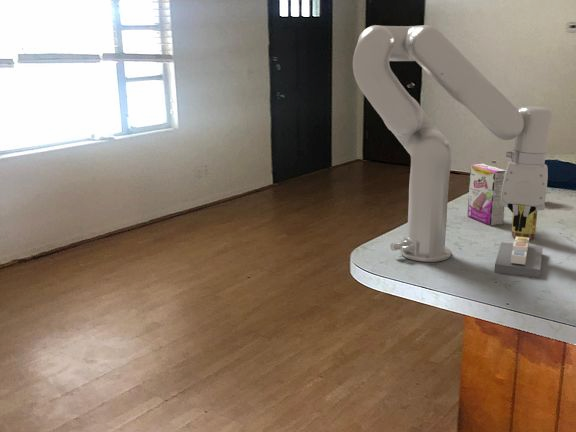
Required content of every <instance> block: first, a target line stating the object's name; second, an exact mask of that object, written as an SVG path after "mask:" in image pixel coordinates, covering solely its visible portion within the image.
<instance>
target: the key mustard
mask: <svg viewBox="0 0 576 432" xmlns="http://www.w3.org/2000/svg"><path fill="white" fill-rule="evenodd" d="M515 241H521V242H528V245H530V244H529V243H530V239H529V238H527V237H517V236H516V238H514V242H515Z"/></svg>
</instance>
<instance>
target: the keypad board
mask: <svg viewBox="0 0 576 432" xmlns="http://www.w3.org/2000/svg"><path fill="white" fill-rule="evenodd" d="M513 244H514V242H513V243H510V242H502V241H501V242H500V247H499V249H498V253H497V256H496V259H495V262H494V269H493V270H494V273H497V274H499V273H500V274H505V275H506V274H507V275H514V276H522V277H530V278H540V277H541V269H542V259H543V248H544V247H543V246H542V245H541V246H537V245H532V244H531V245H530V244H529V245H528V251H527V255H526V262H525V265H524V264H523V266H522V265H514V264H513V263H511V254H512V251H513Z"/></svg>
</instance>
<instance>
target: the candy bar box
mask: <svg viewBox="0 0 576 432" xmlns="http://www.w3.org/2000/svg"><path fill="white" fill-rule="evenodd" d="M505 171H506V169H503V168H499V167H496V166H492V165H488V164H486V163H477V164H471V165H470V171H469V189H468V200H467V201H468V204H467V206H468V207H467V215H466V216H467V218H468V217H469V218H471V219H474V220H476V221H479V222H480V223H483V224H485V225H487V226H490V227H492V226H499V225H503V224H504V215H505V206H502V205H500V204H499V202H500V200H501V192H502V186H503V180H504V175H505Z"/></svg>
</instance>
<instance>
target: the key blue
mask: <svg viewBox="0 0 576 432" xmlns="http://www.w3.org/2000/svg"><path fill="white" fill-rule="evenodd" d="M526 254H527V252H522V251H512V254H511V263H513V264H514V265H522V266H523V264H524V265H525V262H526Z"/></svg>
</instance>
